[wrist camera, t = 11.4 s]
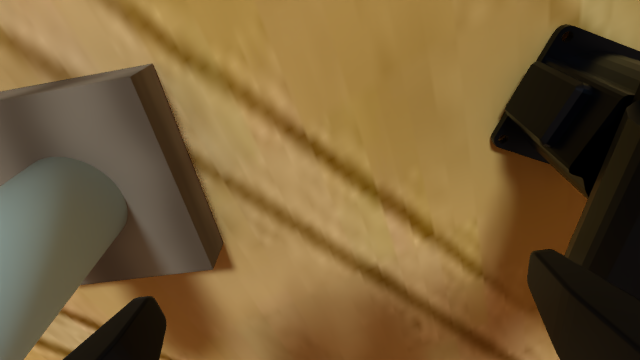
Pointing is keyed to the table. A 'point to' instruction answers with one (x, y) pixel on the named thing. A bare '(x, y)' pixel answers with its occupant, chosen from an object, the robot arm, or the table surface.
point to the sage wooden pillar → (50, 243)
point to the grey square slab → (119, 165)
